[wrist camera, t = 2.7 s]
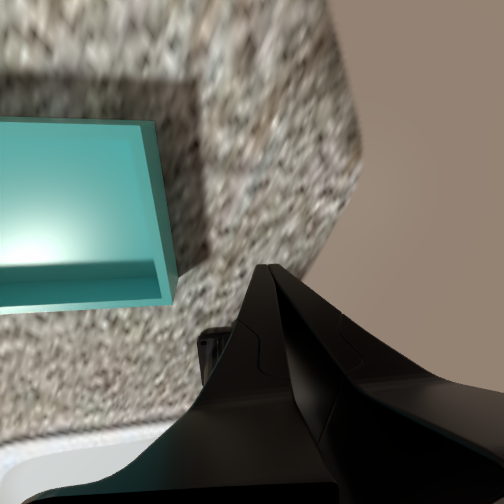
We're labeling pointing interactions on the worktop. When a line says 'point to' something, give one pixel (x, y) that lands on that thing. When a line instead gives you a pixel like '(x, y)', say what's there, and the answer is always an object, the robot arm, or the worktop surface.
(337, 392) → the robot arm
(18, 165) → the tray
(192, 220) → the worktop surface
